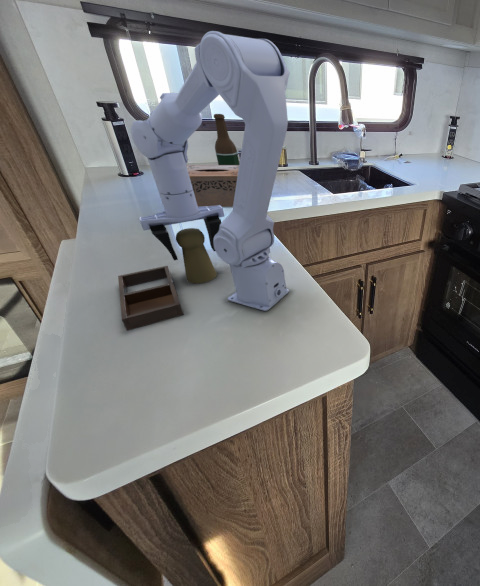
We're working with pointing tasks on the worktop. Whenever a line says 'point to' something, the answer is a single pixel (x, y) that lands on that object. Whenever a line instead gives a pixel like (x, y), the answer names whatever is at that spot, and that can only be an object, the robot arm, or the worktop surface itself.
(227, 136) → the brown beer bottle
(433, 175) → the worktop surface
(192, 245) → the cork
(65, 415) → the worktop surface
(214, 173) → the tissue box cover
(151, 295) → the caddy
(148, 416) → the worktop surface
